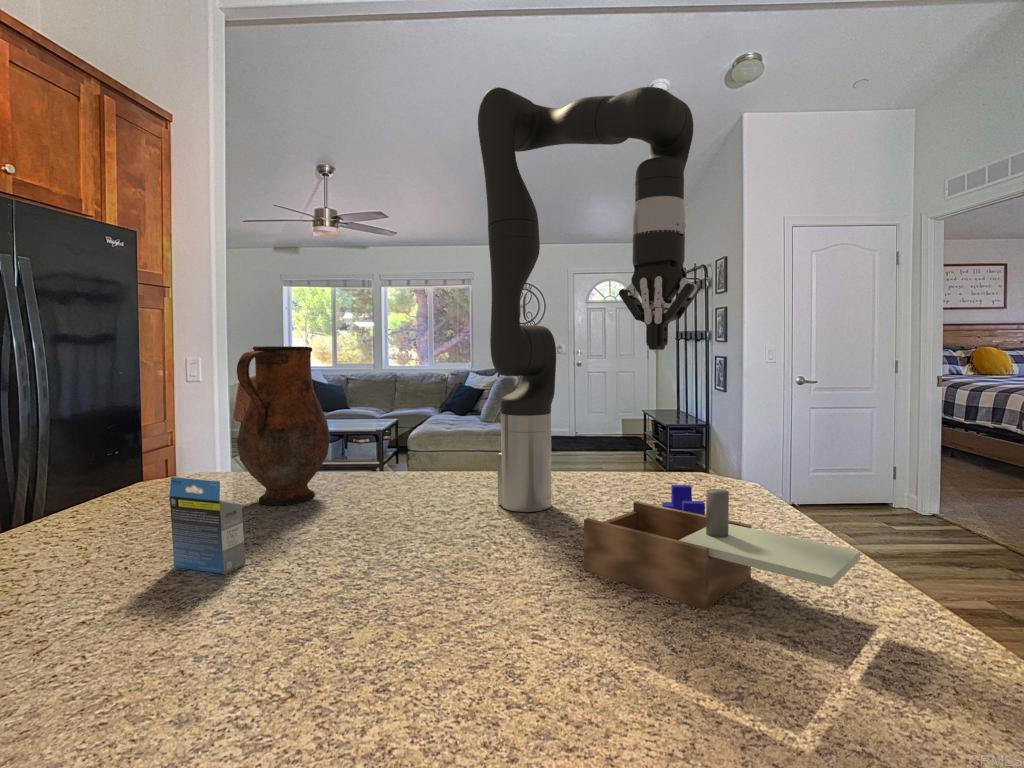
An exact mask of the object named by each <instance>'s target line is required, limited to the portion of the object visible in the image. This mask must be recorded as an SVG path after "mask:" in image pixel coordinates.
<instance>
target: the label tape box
mask: <svg viewBox="0 0 1024 768" xmlns="http://www.w3.org/2000/svg"><path fill="white" fill-rule="evenodd" d="M193 487H195V488H196V489H200V490H202V491H201V493H200V492H191V491H187V490H186V489H187V488H189V489H190V488H191V489H192V488H193ZM220 491H221V481H219V480H208V479H195V478H188V477H177V476H172V475H171V477H170V485H169V504H170V505H169V506H170V518H171V519H170V520H171V536H172V540H171V541H172V555H173V567H174V568H176V569H182V568H185V569H184V570H189V569H191V571H199V572H207V573H213V574H219V573H221V574H220V575H227V574H228V572H229V573H231V572H233V571H232V570H234V569H236V568H238V567H239V568H241V567H243V566H245V565H246V553H245V537H244V525H243V523H244V522H243V510H242V509H243V506H242V504H241V503H235V502H231V501H225V500H222V499H221V492H220ZM239 568H238V569H239ZM236 570H237V569H236ZM234 571H235V570H234ZM226 573H227V574H226Z"/></svg>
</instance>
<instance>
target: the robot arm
mask: <svg viewBox="0 0 1024 768" xmlns="http://www.w3.org/2000/svg"><path fill="white" fill-rule="evenodd" d="M477 130H478V139H479V145H480V151H481V153H480V154H481V158H482V159H481V160H482V163H483V164H482V165H483V171H484V182H485V191H486V192H485V193H486V205H487V233H488V235H487V236H488V250H489V251H488V252H489V259H490V263H489V264H490V279H491V280H490V281H491V282H490V283H491V307H490V308H491V310H490V311H491V312H490V313H491V316H490V338H489V339H490V342H489V344H490V355H491V356H490V357H491V363H492V365H493V367H494V370H495V371H496V373H498V374H499V375H501V376H504V377H521V382H520V384H519V386H518V387H517V388H516V389H515V390H514V391H512V392H511V393H508V394H507V395H505V396H504V397H502V398H501V400H500V447H501V448H500V452H498V454H497V505H500V506H501V507H502V508H503V509H504V510H508V511H512V512H520V513H521V512H522V513H530V512H531V513H532V512H541V511H544V510H549V508H551V507H552V403H553V401H554V398H555V390H556V371H557V369H556V368H557V346H556V342H555V341H556V340H555V337H554V334H553V333H552V331H551V330H550V329H549V328H548V327H546V326H543V325H531V324H529V325H528V324H521V320H520V319H521V318H520V316H521V315H520V312H521V311H520V308H521V307H520V306H521V305H520V304H521V297H522V293H523V290H524V288H525V286H526V283H527V282H528V279H529V277H530V275H531V273H532V272H533V270H534V268H535V265H536V264H537V261H538V259H539V255H540V249H541V247H540V246H541V243H540V230H539V229H540V228H539V227H540V226H539V217H538V211H537V208H536V205H535V204H534V201H533V199H532V197H531V194H530V192H529V190H528V188H527V185H526V184H525V181H524V178H522V175H521V173H520V170H519V167H518V166H519V165H518V162H517V156H516V153H519V152H527V151H532V150H538V149H541V148H545V147H552V146H560V145H571V144H572V145H608V146H609V145H619V144H622V143H624V142H626V141H627V140H628V139H632V140H633V139H635V140H641V141H643V142H645V143H647V144H649V145H650V149H649V150H650V152H649V157H648V158H647V159H646V160H643V161H642V162H641V163H639V164H638V166H637V168H636V171H635V178H634V179H635V181H634V189H635V192H634V198H635V199H634V211H633V217H632V265H633V269H634V270H633V274H632V276H631V281H630V282H631V283H630V284H629V285H628V286H627V287H626V288H621V289H620V290H619V292H618V295H619V297H620V298H621V300H622V301H623V303H624V305H625V306H626V307H627V309H628V310H629V312H630V313H631V315H632V316H633V318H634V320H636V321H640V322H642V323H644V325H645V327H646V329H645V331H646V332H645V333H646V334H645V343H646V346H647V347H648V349H649V350H653V351H657V350H659V351H660V350H661V351H663V350H665V348H666V346H668V343H669V342H668V341H669V324H670V323H671V322H674V321H678V320H680V319H681V318H682V316H683V315H684V313H685V312H686V311H687V309H688V308H689V306H690V305H691V304H692V302H693V301H694V299H695V298H696V296H697V295H698V294H699V292H700V290H701V287H700V285H699V284H695V283H693V282H692V281H691V280H690V279H688V278H687V273H686V271H685V268H684V263H685V260H686V259H685V255H686V253H685V252H686V247H685V246H686V227H687V225H686V211H685V202H684V201H685V200H684V199H685V198H684V197H685V196H684V195H685V175H684V174H685V168H686V166H687V162H688V158H689V156H690V155H689V154H690V150H691V145H692V141H693V138H694V137H693V136H694V118H693V113H692V111H691V108H690V107H689V105H688V104H687V103H686V102H684V101H683V100H681V99H680V98H678V97H676V96H675V95H674V94H672V93H670V92H669V91H668V90H666V89H663V88H660V87H656V86H643V87H638V88H634V89H631V90H627V91H625V92H622V93H620V94H617V95H599V96H597V95H596V96H595V95H594V96H588V97H587V96H586V97H582V98H579V99H576V100H573V101H571V102H570V103H568V104H567V105H566V106H563V107H549V106H544V105H539V104H536V103H534V102H532V101H531V100H530V99H528V98H526V97H524V96H522V95H520V94H518V93H516V92H514V91H512V90H510V89H508V88H504V87H498V86H497V87H492V88H490V89H489V90H488V91H486V93H485V94H484V96H483V97H482V99H481V101H480V104H479V109H478V114H477ZM677 294H678V295H677ZM676 295H677V296H676ZM639 296H640V298H641V300H640V298H639ZM675 296H676V298H675Z"/></svg>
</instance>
